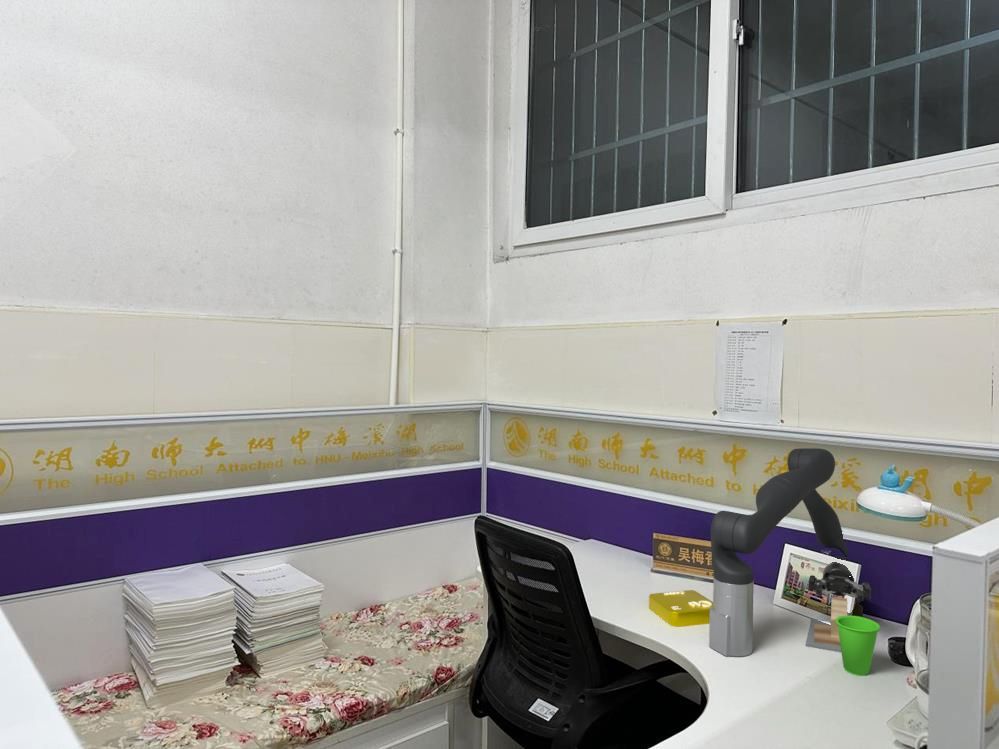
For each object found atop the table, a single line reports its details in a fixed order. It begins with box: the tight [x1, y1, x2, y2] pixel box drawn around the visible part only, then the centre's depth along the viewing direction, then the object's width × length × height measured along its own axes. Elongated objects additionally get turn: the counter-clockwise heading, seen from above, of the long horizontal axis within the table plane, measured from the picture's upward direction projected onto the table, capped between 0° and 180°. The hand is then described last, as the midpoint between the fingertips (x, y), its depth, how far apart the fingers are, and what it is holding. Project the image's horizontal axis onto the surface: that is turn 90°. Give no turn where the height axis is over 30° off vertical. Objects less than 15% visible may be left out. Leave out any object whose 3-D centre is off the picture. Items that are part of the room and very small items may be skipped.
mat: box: [805, 618, 841, 653], centre depth 178 cm, size 18×13×1 cm
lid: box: [814, 595, 848, 647], centre depth 176 cm, size 11×11×10 cm
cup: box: [835, 614, 881, 677], centre depth 160 cm, size 9×9×11 cm
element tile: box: [648, 589, 713, 628], centre depth 193 cm, size 15×15×5 cm
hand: (839, 595), depth 174 cm, fingers open, 8 cm apart
